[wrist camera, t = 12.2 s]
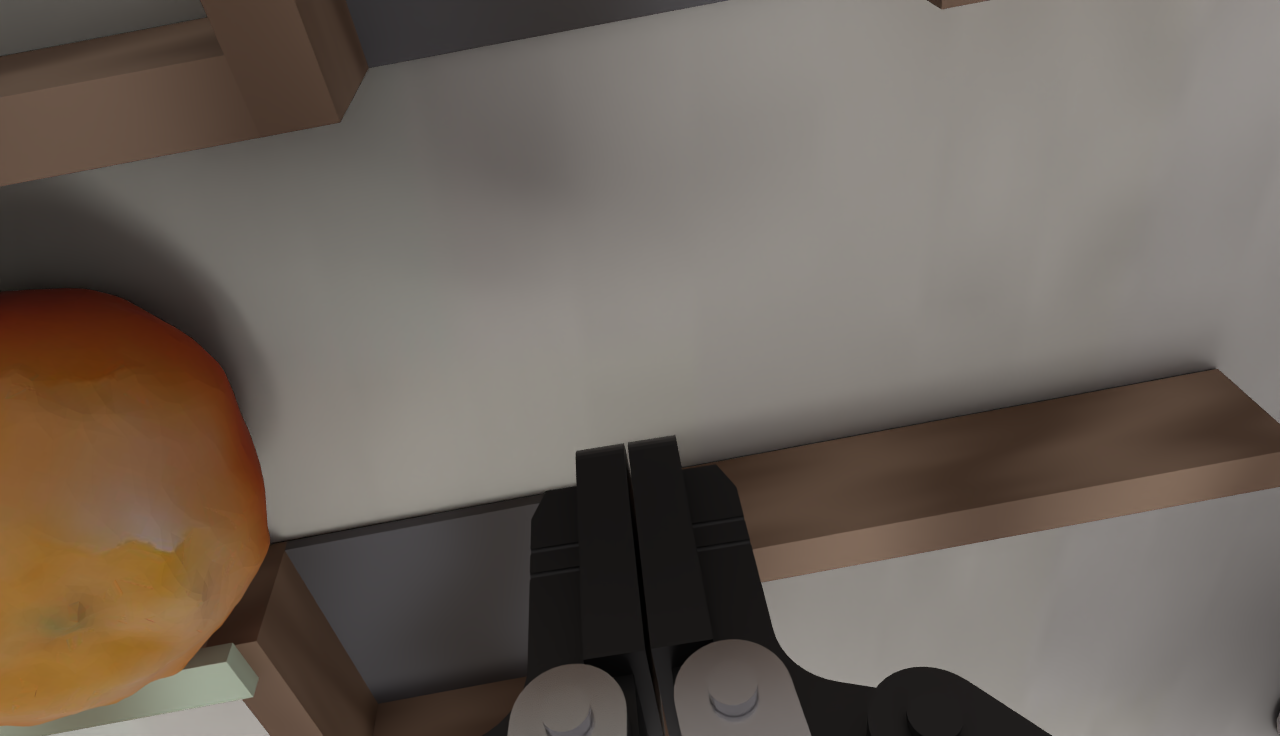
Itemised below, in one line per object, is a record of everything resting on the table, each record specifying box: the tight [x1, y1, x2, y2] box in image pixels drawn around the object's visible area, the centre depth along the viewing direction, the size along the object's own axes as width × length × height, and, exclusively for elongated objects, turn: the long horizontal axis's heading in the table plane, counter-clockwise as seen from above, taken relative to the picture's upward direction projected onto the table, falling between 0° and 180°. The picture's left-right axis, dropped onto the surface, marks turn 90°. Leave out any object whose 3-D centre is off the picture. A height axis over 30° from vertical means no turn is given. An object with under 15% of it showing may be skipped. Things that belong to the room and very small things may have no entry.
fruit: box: [0, 288, 270, 727], centre depth 16 cm, size 8×8×8 cm
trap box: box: [0, 0, 1280, 736], centre depth 16 cm, size 32×27×4 cm
